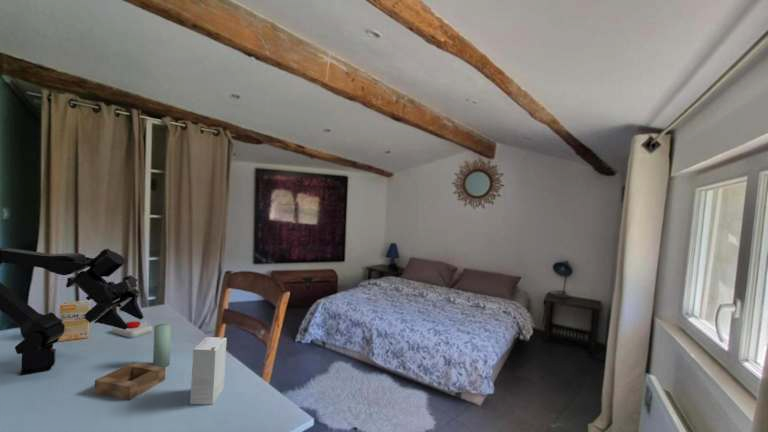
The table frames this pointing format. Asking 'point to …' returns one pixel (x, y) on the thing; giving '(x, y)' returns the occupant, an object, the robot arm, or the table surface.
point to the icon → (133, 329)
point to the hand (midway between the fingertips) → (134, 323)
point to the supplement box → (74, 320)
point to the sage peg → (162, 345)
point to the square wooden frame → (125, 389)
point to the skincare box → (208, 370)
